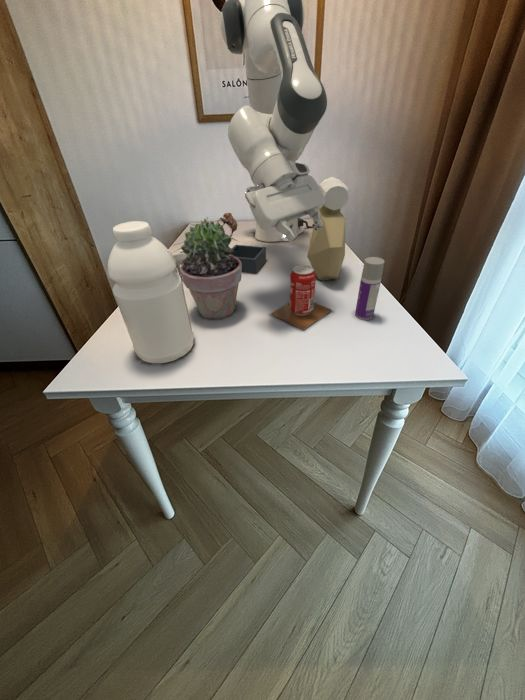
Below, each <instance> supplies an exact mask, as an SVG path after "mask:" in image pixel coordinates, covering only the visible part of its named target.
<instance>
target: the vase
mask: <svg viewBox="0 0 525 700" xmlns="http://www.w3.org/2000/svg"><path fill="white" fill-rule="evenodd" d="M318 185H319V187H320V189H321V191H322V192H323V194H324V196H325V204H324V205H323V206H322V207H321V208H320V209H319V211H320V218H321V221H322V223H323V225H324V226H323V227H322V228H321V229H319V230H317V231H316V230H315V229H314V227H313V228H312V230H311V236H310V240H309V246H308V250H307V255H306V257H307V259H308V262H309V263H310V266H311V267H312V268H313V269H314V272H315V274H316V278H317V279H318V280H320V281H327V280H329V281H330V280H337V279H338V278H339V276H340V272H341V268H342V266H343V263H344V260H345V256H346V221H347V219H346V217H345V216H344V215H343V214H342V212H341V209H342V208H343V207H345V206H346V205H347V203H348V201H349V187H348V186H347V185H346V184H345V183H344V182H343V181H342V180H341V179H338V178H336V177H334V176H330V177H328V178H326V179H324V180H323V181H321V183H320V184H318Z"/></svg>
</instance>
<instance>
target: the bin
mask: <svg viewBox="0 0 525 700" xmlns="http://www.w3.org/2000/svg"><path fill="white" fill-rule="evenodd" d="M233 246H234V247H233ZM233 246H232V250H235V251H233V252H235V253H231V254H229V255H233V256H235V257H237V258H238V259H239V260H240V261H241V263H242V273H244V274H245V273H246V274H252V275H257V274H258V272H259V271H260V269H261V268H262V267H263V266H264V264H265V263H266V262H267V246H259V245H258V246H256V245H243V244H234V245H233ZM244 270H245V271H244Z"/></svg>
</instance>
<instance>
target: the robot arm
mask: <svg viewBox="0 0 525 700" xmlns="http://www.w3.org/2000/svg"><path fill="white" fill-rule="evenodd" d="M304 21H305V7H304V2H303V0H226V1H224V3H223V6H222V8H221V15H220V32H221V36H222V39H223V41H224V43H225V45H226V46H227V50H228V51H229V52H230V53H231V54H234V55H243V54H244V64H245V65H244V66H245V76H246V84H247V93H248V101H249V105H248V104H247V105H244V106H242V107H240V108H239V109H238V110H237V111H236V112H234V114H233V115H232V117H231V119H230V121H229V124H228V128H227V137H228V141H229V143H230V145H231V148H232V150H233V152H234V153H235V155H236V157H237V159H238V161H239V162H240V164H241V166H242V167H243V168H244V169H245V170H246V171H247V172H248V174H249V178H250V180H251V182H252V184H253V185H254V186H249V187H247V188H246V190H245V192H244V198H245V200H246V202H247V203H248V205H249V208H250V211H251V214H252V216H253V217H254V220H255V223H256V224H255V225H256V226H255V230H254V233H255V234H254V238H255V240H258V241H261V242H268V243H269V242H270V243H273V242H274V243H275V242H289V243H290V242H293V241H296V240H297V238H298V236H299V235H300V234H302V233H304V228H303V227H304V224H305V227H306V228H307V229H313V227H314V229H315V230H316V231H317V230H319V229H321V228H322V227H323V226H324V225H323V223H322V221H321V218H320V211H319V209H320V208H321V207H322V206H323V205H324V204H325V196H324V194H323V192H322V191H321V189H320V187H319V185H320V184H318V182H317V181H316V179H315V178H314V177H313V176H312V175H310V172H311V170H310V168H309V166H308V165H307V164H305V163H300V162H297V161H298V159H299V158H300V157H301V156H302V155H303V153H304V151H305V149H306V147H307V145H308V143H309V141H310V139H311V138H312V136H313V133H314V131H315V129H316V128H317V126H318V125H319V124H320V122H321V120H322V118H323V116H324V115H325V113H326V111H327V107H328V97H327V93H326V90H325V86H324V84H323V82H322V81H321V79H320V77H319V76H318V74H317V73H316V71H315V68H314V65H313V62H312V60H311V56H310V53H309V49H308V47H307V44H306V40H305V38H304V34H303V27H304V24H305V23H304ZM305 216H309V218H312V222H313V223H312V225H311V226H310V225H309V222H308V221H307V220H304V219H303V217H305Z"/></svg>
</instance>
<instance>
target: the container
mask: <svg viewBox="0 0 525 700" xmlns="http://www.w3.org/2000/svg"><path fill="white" fill-rule="evenodd" d="M385 262H386V261H385V260H384V259H383V258H381V257H379V256H369V257H366V258H364V262H363V268H362V272H361V276H360V277H361V278H360V281H359V289H358V293H357V300H356V305H355V311H354V317H356V318H357V319H359V320H362V321H370V320H372V319H373V318H374V315H375V312H376V311H375V310H376V306H377V301H378V297H379V292H380V288H381V284H382V277H383V272H384V267H385Z"/></svg>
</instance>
